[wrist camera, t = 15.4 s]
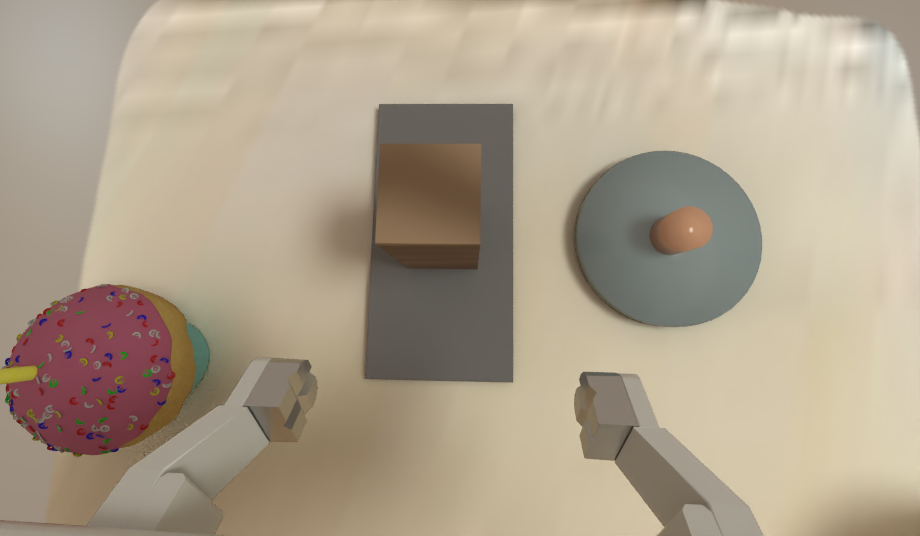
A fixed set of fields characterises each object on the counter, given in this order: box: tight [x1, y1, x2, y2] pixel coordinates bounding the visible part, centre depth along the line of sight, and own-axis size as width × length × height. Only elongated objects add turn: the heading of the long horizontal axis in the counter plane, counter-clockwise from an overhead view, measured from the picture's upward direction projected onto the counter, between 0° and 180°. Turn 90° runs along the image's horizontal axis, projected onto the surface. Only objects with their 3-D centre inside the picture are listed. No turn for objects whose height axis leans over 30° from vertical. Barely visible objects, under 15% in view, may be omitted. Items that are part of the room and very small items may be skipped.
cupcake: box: [0, 284, 209, 457], centre depth 18 cm, size 9×8×12 cm
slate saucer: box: [574, 151, 762, 327], centre depth 22 cm, size 11×11×3 cm
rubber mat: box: [365, 104, 513, 382], centre depth 24 cm, size 18×9×1 cm, turn 179°
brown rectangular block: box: [375, 144, 481, 269], centre depth 20 cm, size 4×4×8 cm
